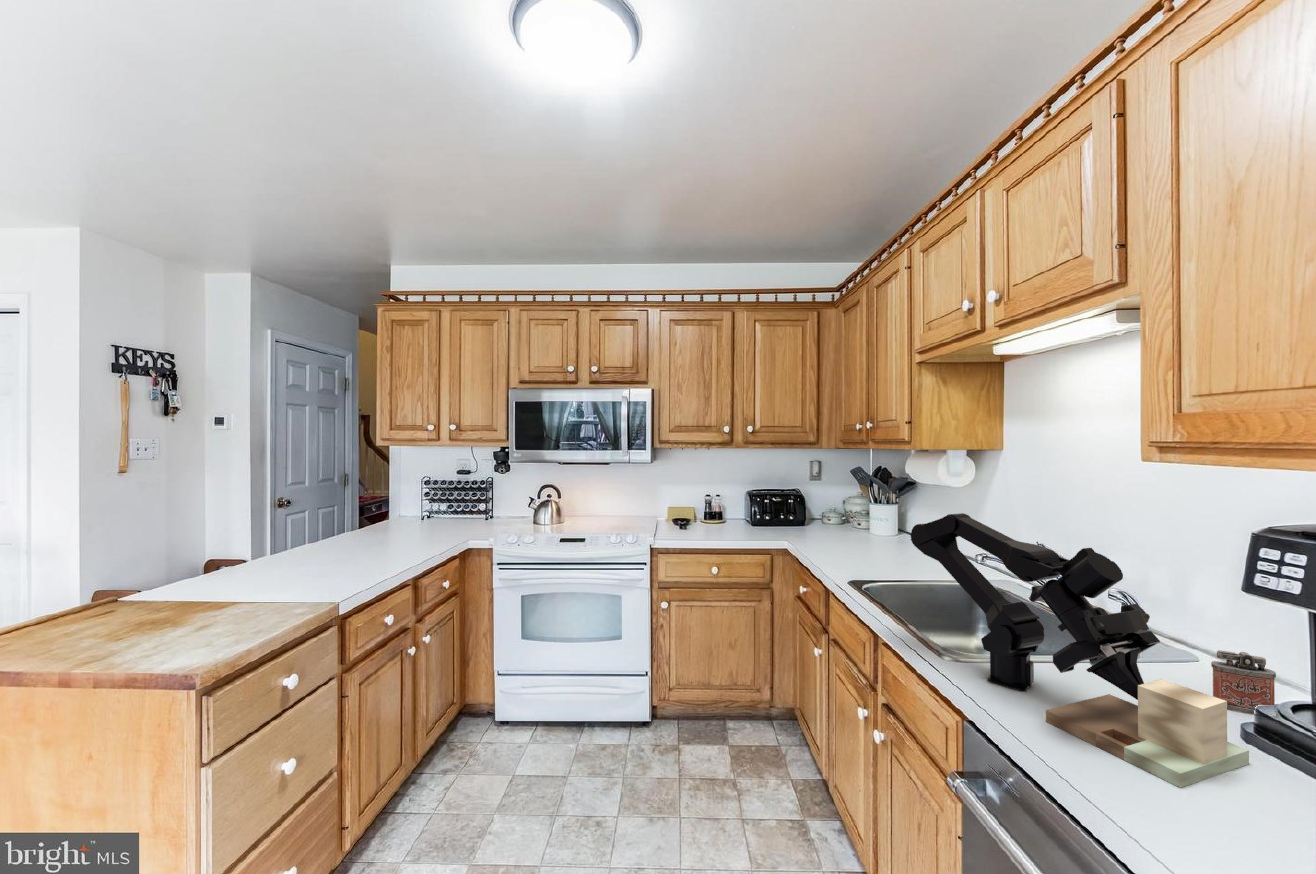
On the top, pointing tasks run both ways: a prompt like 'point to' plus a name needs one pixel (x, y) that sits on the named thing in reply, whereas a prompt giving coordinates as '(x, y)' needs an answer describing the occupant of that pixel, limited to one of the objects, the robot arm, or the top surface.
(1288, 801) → the top surface
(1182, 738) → the maple block
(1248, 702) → the lighter
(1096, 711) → the board
